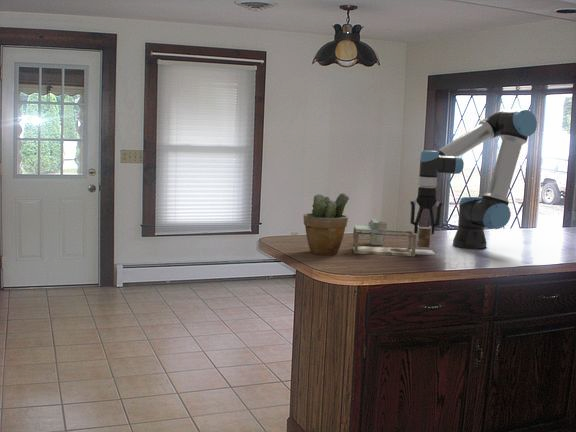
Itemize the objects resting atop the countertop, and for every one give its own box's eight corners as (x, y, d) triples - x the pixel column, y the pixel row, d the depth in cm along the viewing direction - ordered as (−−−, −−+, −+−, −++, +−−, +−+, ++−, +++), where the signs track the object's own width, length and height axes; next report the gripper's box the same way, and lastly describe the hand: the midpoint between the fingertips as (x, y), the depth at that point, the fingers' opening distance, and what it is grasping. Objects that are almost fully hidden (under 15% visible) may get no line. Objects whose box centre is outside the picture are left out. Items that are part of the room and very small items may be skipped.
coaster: (431, 251, 301) (431, 250, 301) (435, 255, 292) (435, 253, 292) (410, 250, 301) (410, 249, 301) (413, 254, 292) (414, 252, 292)
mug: (385, 246, 310) (386, 224, 309) (357, 244, 312) (358, 222, 311) (386, 243, 318) (387, 222, 317) (359, 241, 320) (360, 220, 319)
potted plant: (315, 257, 273) (318, 194, 270) (293, 249, 289) (296, 190, 286) (354, 255, 282) (357, 194, 279) (330, 248, 298) (334, 190, 295)
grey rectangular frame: (410, 251, 299) (411, 231, 298) (414, 256, 287) (416, 235, 286) (352, 248, 299) (353, 228, 298) (354, 253, 287) (355, 232, 286)
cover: (375, 228, 298) (375, 219, 298) (378, 232, 286) (378, 222, 285) (354, 227, 298) (354, 218, 298) (356, 231, 286) (356, 221, 286)
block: (427, 245, 299) (428, 227, 298) (429, 247, 294) (430, 228, 293) (416, 245, 299) (418, 226, 298) (418, 246, 294) (419, 228, 293)
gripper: (446, 187, 297) (442, 241, 300) (405, 185, 297) (401, 238, 300) (449, 188, 290) (445, 243, 292) (408, 186, 290) (404, 241, 293)
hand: (423, 241), depth 296 cm, fingers closed on block, 4 cm apart
